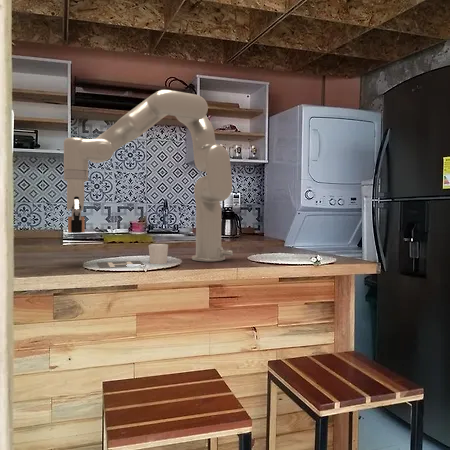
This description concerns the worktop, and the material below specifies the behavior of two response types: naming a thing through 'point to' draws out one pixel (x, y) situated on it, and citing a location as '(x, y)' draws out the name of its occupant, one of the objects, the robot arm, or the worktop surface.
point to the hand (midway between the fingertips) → (76, 231)
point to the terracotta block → (70, 224)
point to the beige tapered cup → (158, 253)
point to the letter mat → (117, 264)
